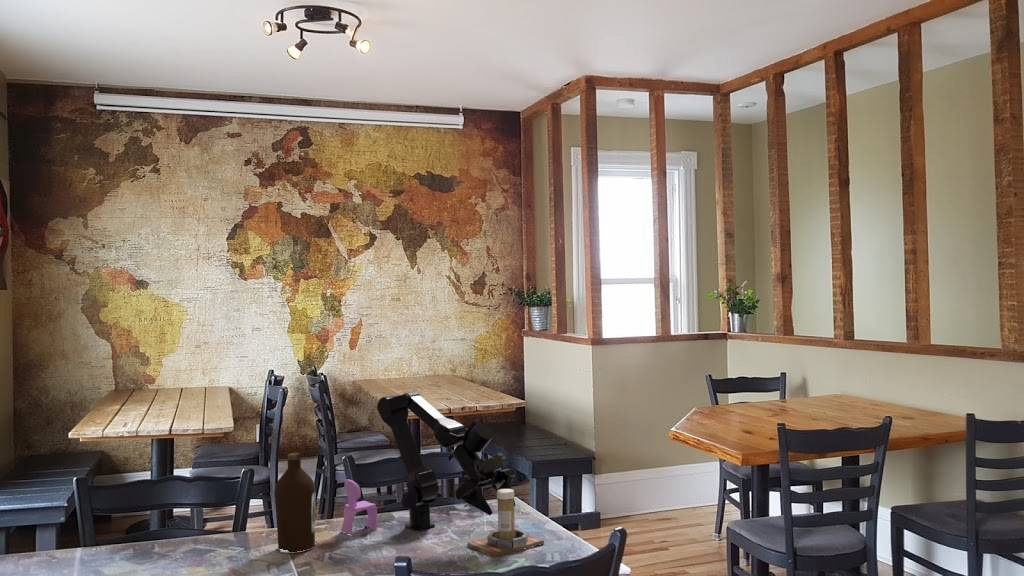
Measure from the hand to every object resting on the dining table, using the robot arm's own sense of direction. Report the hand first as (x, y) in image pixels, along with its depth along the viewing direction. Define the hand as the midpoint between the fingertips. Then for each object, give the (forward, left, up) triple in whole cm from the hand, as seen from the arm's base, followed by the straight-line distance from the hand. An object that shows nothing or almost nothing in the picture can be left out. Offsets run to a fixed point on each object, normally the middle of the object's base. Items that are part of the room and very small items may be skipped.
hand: (502, 510), depth 221 cm
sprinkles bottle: (+1, 0, -8) cm, 8 cm away
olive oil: (-35, -43, -9) cm, 56 cm away
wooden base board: (0, 0, -9) cm, 9 cm away
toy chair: (-39, -23, -9) cm, 46 cm away
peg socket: (+1, 0, -9) cm, 9 cm away
